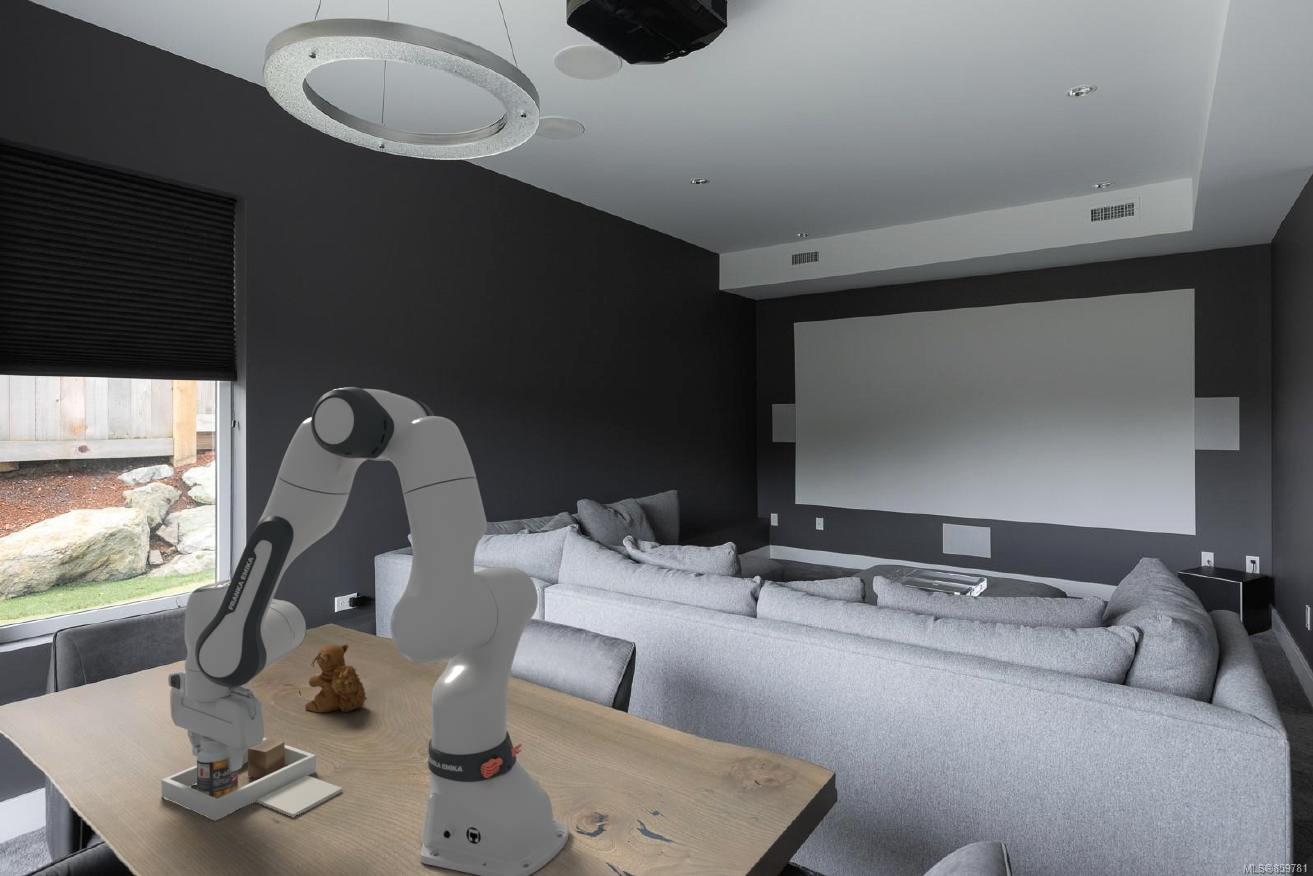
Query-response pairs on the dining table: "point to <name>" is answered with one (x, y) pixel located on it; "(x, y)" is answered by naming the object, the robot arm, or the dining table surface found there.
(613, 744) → the dining table surface
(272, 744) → the walnut block
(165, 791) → the tray frame
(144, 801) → the dining table surface
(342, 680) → the stuffed squirrel
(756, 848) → the dining table surface
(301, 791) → the coaster
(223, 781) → the pill bottle
